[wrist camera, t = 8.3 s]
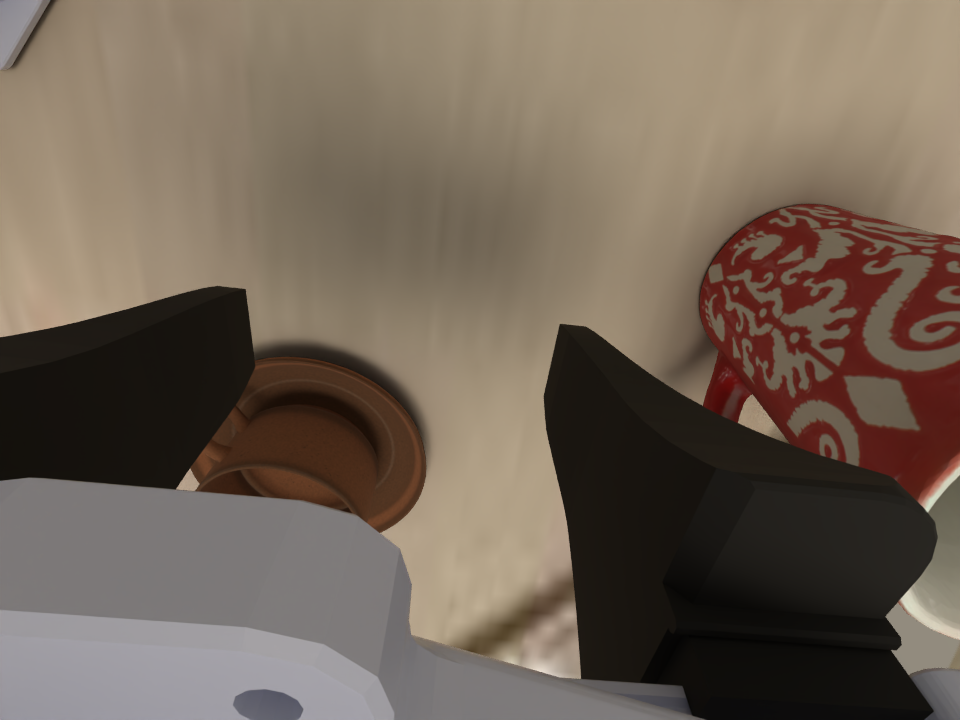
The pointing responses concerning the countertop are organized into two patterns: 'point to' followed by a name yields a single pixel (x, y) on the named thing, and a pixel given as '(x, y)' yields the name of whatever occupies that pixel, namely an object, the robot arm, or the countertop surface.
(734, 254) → the mug
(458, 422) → the countertop surface
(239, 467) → the cup and saucer
